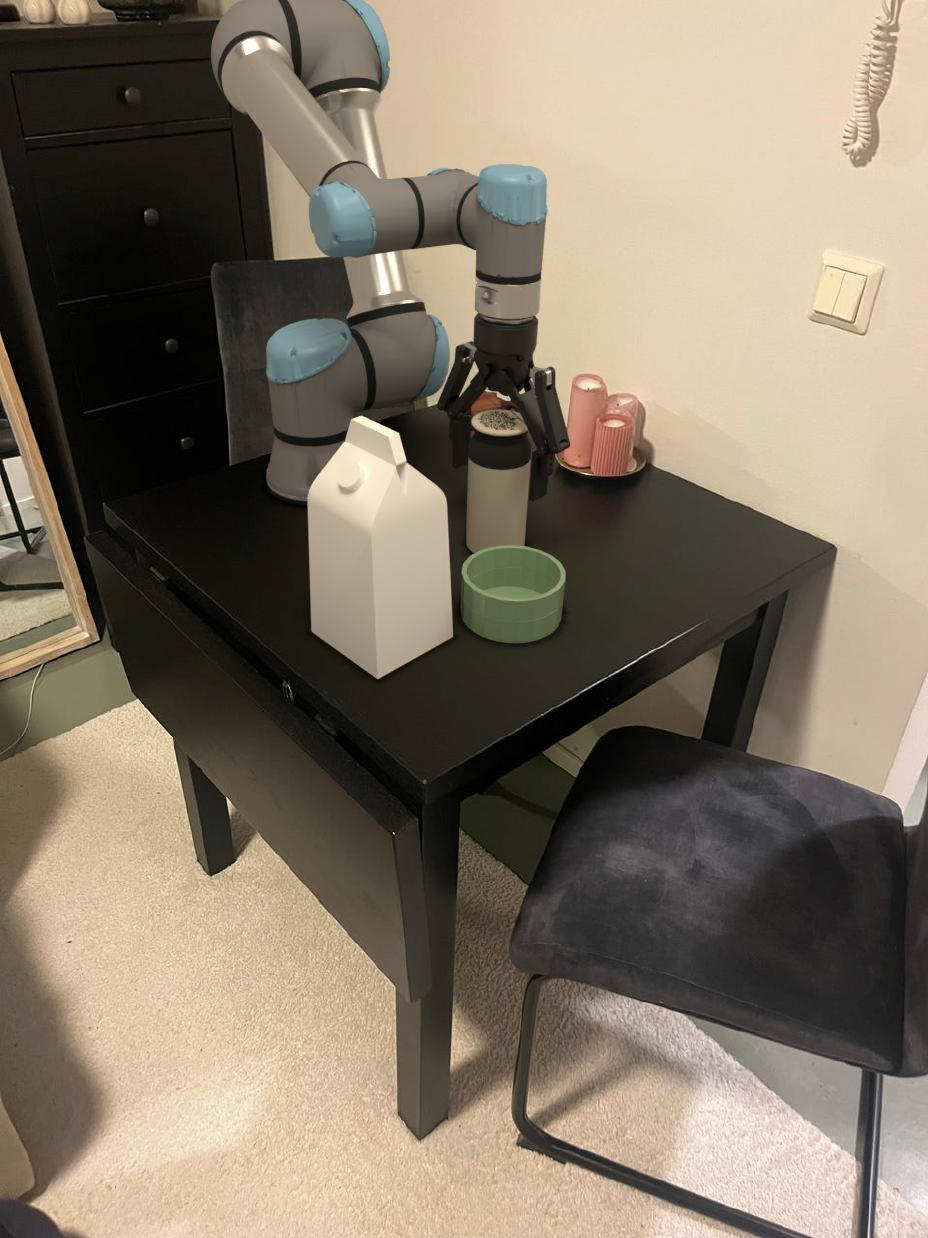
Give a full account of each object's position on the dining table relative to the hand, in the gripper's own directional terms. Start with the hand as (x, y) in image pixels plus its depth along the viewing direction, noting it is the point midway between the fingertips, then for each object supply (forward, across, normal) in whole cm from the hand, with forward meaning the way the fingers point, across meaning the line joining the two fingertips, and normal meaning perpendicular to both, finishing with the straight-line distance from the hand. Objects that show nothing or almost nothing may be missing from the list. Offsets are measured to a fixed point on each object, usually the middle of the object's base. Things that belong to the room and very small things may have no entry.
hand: (498, 480), depth 117 cm
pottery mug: (+10, -25, +27) cm, 38 cm away
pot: (+10, +12, -11) cm, 19 cm away
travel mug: (+10, 0, 0) cm, 10 cm away
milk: (+10, +4, -25) cm, 27 cm away
